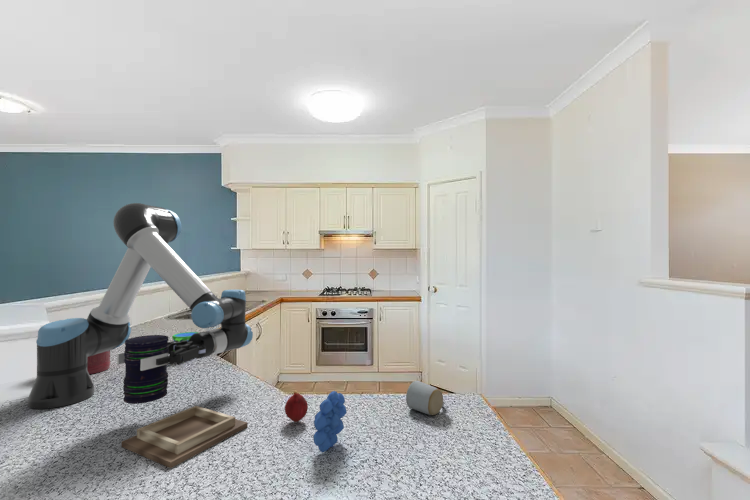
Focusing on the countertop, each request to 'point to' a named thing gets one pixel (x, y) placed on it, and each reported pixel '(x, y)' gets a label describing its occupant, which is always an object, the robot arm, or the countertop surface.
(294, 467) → the countertop surface
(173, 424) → the base board
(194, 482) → the countertop surface
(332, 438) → the grapes
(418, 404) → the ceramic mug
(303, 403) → the onion
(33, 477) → the countertop surface
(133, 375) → the dark blue barrel
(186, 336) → the snack cup
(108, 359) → the canister
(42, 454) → the countertop surface
